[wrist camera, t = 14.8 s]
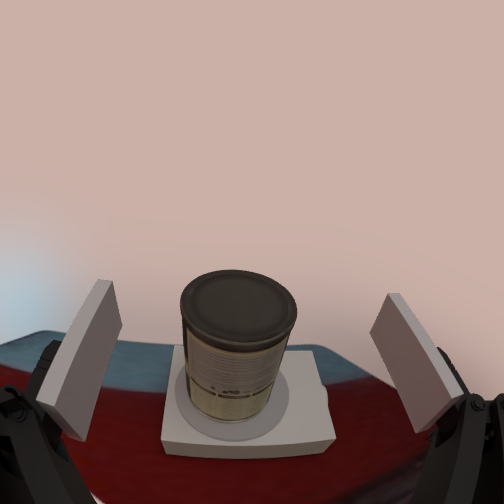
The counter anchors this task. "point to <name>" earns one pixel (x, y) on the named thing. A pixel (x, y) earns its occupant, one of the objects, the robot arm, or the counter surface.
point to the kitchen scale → (259, 428)
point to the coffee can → (234, 342)
